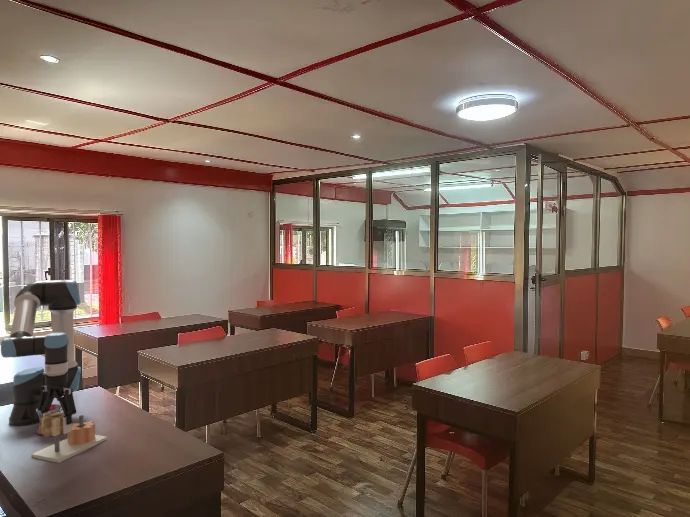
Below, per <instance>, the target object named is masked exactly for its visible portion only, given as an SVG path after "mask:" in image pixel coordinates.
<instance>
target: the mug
mask: <svg viewBox="0 0 690 517" xmlns="http://www.w3.org/2000/svg"><path fill="white" fill-rule="evenodd" d="M49 411H51V414H54V413H57V412H62V411H63V410H62V407H61V405H60V404H58V403H57V404H53V403H52V404H51V407H50V410H49ZM36 412H37V414H38V416H39V420H40V422H39V425H38V427H39V428H38V430H37V434H38V435H42V436H43V434H42V413H41V411H38V408H37V409H36Z"/></svg>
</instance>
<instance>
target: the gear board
mask: <svg viewBox="0 0 690 517" xmlns="http://www.w3.org/2000/svg"><path fill="white" fill-rule="evenodd" d="M84 418H85V417H84V415H83V414H82V415H78V423H75V422H74V423H72V429H71V432H68V433H66V434H67V438H65V439H63V440H60V434H59V435H57V436H54V443H53V444H51V445H49V446H47V447H45V448H42V449H40V450H38V451H35V452H33V453H32V454H31V458H33V459H39V460H43V461H44V460H45V461H47V462H53V463H58V464H60V463H61V462H62V463H63V462H64V461H66V460H68V459H70V458H72V457H74V456H76V455H78V454H80V453H83V452H84V451H87V450H88V449H90V448H92V447H94V446H96V445H98V444H100V443H102V442H105V441H107V438H108V437H107V436H106V435H105V436H104V435H99V434H96V423H95V422H94V421H92V420H89V421H84V420H85V419H84Z"/></svg>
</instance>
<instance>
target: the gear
mask: <svg viewBox="0 0 690 517" xmlns="http://www.w3.org/2000/svg"><path fill="white" fill-rule="evenodd" d="M63 416H65V414H64V412H62V411H61V412H57V413H54V414H47V415H45V417H43V418H42V434H43V435H42V434H41V435H42V437H49V436H53V437H55V436H57V435H59V436H60V435H61V434H63ZM72 424H73V422H72V423H71V429H72ZM63 435H64V434H63Z"/></svg>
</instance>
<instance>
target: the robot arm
mask: <svg viewBox="0 0 690 517" xmlns="http://www.w3.org/2000/svg"><path fill="white" fill-rule="evenodd" d="M78 285H79V284H78V282H77V281H76V280H74V279H58V280H37V281H33V282H31V283H28V284H27V285H26V286H24V287H22V289H20V290H19V291H18V292H17V294H16V296H15V298H14V301H13V306H14V309H15V310H14V314H13V320H12V324H11V328H10V329H11V330H10V334H9V337H6V338H3V339H2V340H1V341H0V342H1V343H0V356H1V357H2V358H20V357H21V358H22V357H32V356H41V355H44V367H42V366H39V367H38V366H37V367H32V368H27V369H24V370H21V371H19V372H17V373H16V374H15V375H13V383H12V386H13V388H12V389H13V407H12V409H11V411H10V412H11V413H10V416H9V417H8V424H9V425H10V426H13V427H25V426H30V425H34V424H35V425H36V424H38V423H39V424H40V420H39V416H38V414H37V412H36V409H37V408H38V411H41V413H42V418H43V417H45V415H47V414H51V411H49V410H50V407H51V404H53V402H54V399H56V401H58V402H59V405H61V409H62V411H63V412H62V413H64V414H65V416H63V435H66V434H67V433H68V432H71V423H72V424H73V415H75V414H77V409H76V404H75V398H74V395H73V393H75V392H77V391H78V390H79V386H80V379H81V372H82V367H81V366H78V362H77V361H75V356H74V355H75V347H74V346H75V344H74V343H75V342H74V341H75V340H74V333H75V332H74V311H75V310H77V308H78V305H81V298H80V296H81V295H80V290H79V289H80V288H79V286H78ZM40 307H48V308H47V309H48V311H49V312H51V318H52V319H51V327H52V328H51V330H52V331H51V333H48V334H46V335H35V336H34V331H35V330H34V329H35V323H36V322H35V321H36V316H37V311H38V310H37V309H39V308H40Z"/></svg>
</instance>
